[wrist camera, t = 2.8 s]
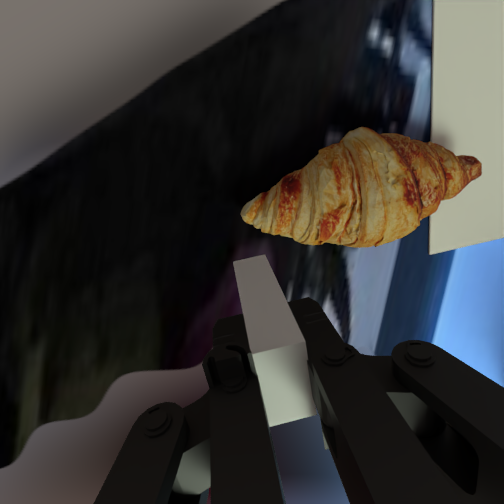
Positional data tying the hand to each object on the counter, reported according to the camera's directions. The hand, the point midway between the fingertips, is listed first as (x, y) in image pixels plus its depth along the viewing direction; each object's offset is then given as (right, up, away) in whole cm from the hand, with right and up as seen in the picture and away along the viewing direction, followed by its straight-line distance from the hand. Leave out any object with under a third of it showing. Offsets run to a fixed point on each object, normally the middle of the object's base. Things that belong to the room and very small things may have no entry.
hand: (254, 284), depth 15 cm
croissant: (+9, +8, +15) cm, 19 cm away
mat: (+24, +14, +15) cm, 31 cm away
